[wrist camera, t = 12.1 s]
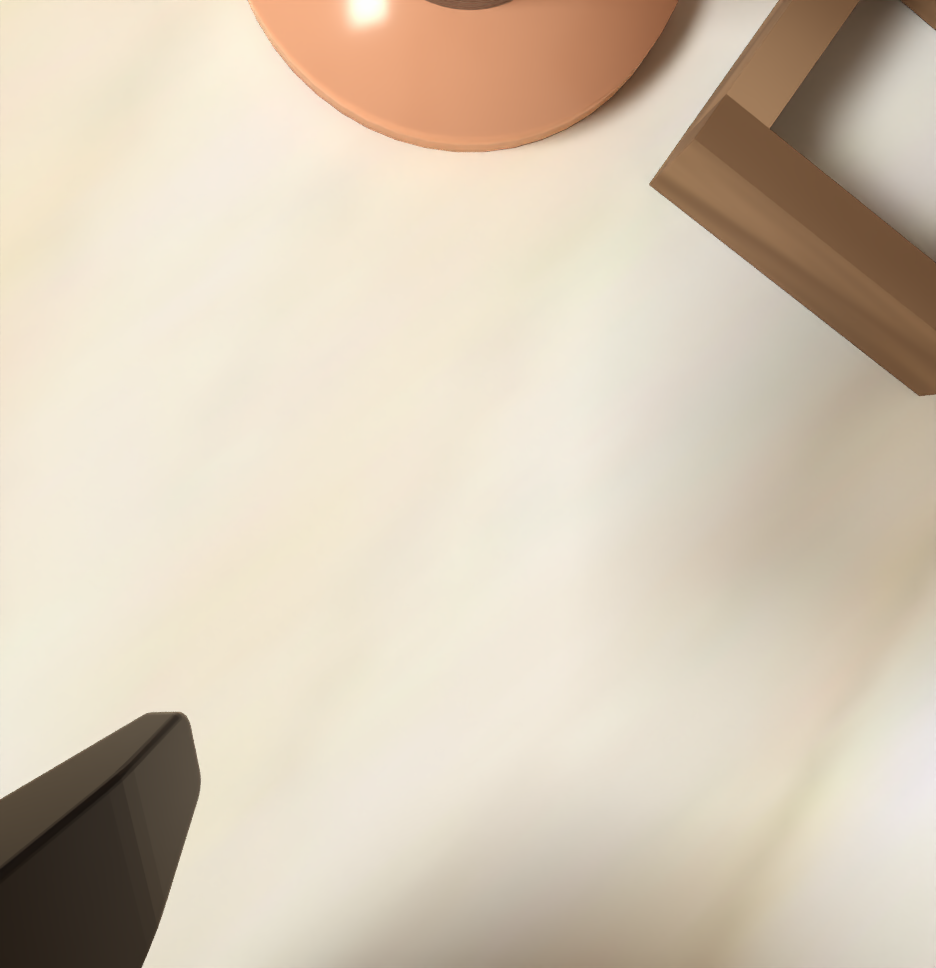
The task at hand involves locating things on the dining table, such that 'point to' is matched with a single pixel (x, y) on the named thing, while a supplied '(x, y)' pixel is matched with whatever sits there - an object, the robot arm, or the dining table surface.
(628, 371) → the dining table surface
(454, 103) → the coaster
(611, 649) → the dining table surface
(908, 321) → the pocket block
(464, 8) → the peg
